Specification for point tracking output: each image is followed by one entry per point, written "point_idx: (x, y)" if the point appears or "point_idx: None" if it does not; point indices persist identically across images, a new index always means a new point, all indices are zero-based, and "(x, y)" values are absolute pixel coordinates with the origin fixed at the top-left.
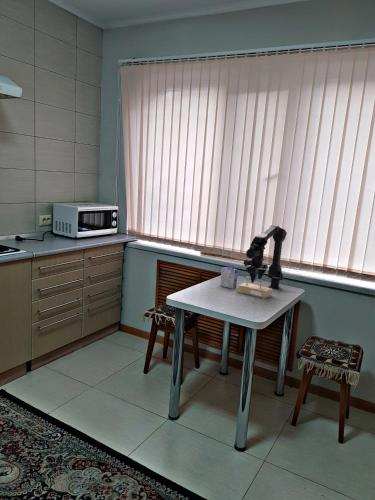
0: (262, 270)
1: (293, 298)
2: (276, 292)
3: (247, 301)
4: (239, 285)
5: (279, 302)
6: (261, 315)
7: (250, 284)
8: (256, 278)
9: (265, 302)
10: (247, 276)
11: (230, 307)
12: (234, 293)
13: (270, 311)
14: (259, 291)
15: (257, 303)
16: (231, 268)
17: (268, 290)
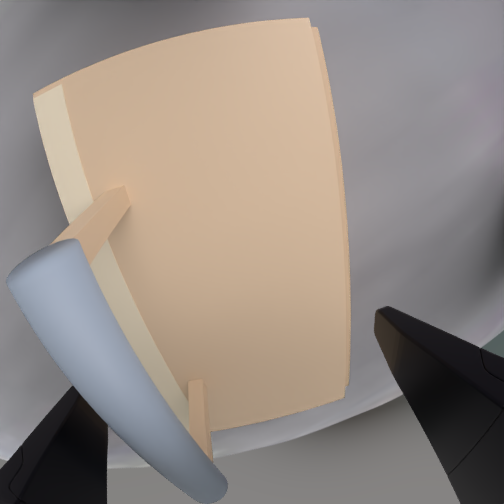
0: (484, 501)
1: (381, 404)
2: (445, 288)
3: (11, 353)
4: (39, 112)
5: (223, 437)
6: (13, 450)
7: (278, 153)
8: (162, 471)
9: None
10: (22, 306)
11: None
12: (15, 131)
13: None
14: None
15: (58, 401)
16: None
17: (249, 423)
